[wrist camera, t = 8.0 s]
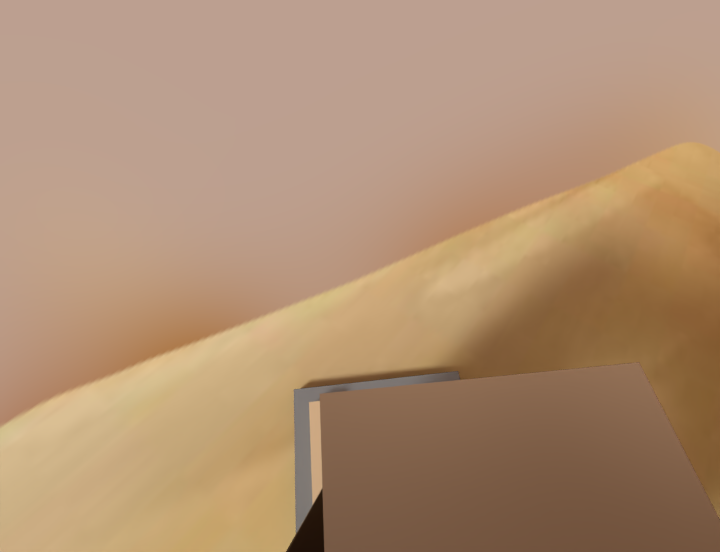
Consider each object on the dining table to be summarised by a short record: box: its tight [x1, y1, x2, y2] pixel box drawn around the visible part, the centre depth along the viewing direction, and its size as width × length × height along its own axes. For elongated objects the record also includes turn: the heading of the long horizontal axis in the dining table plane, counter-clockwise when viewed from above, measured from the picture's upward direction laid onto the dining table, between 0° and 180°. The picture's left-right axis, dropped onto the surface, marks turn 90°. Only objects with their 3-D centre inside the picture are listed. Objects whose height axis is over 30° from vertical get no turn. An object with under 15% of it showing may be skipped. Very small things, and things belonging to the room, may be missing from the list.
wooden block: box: [320, 362, 720, 552], centre depth 8 cm, size 5×4×13 cm
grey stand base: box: [294, 371, 460, 533], centre depth 17 cm, size 12×10×2 cm
